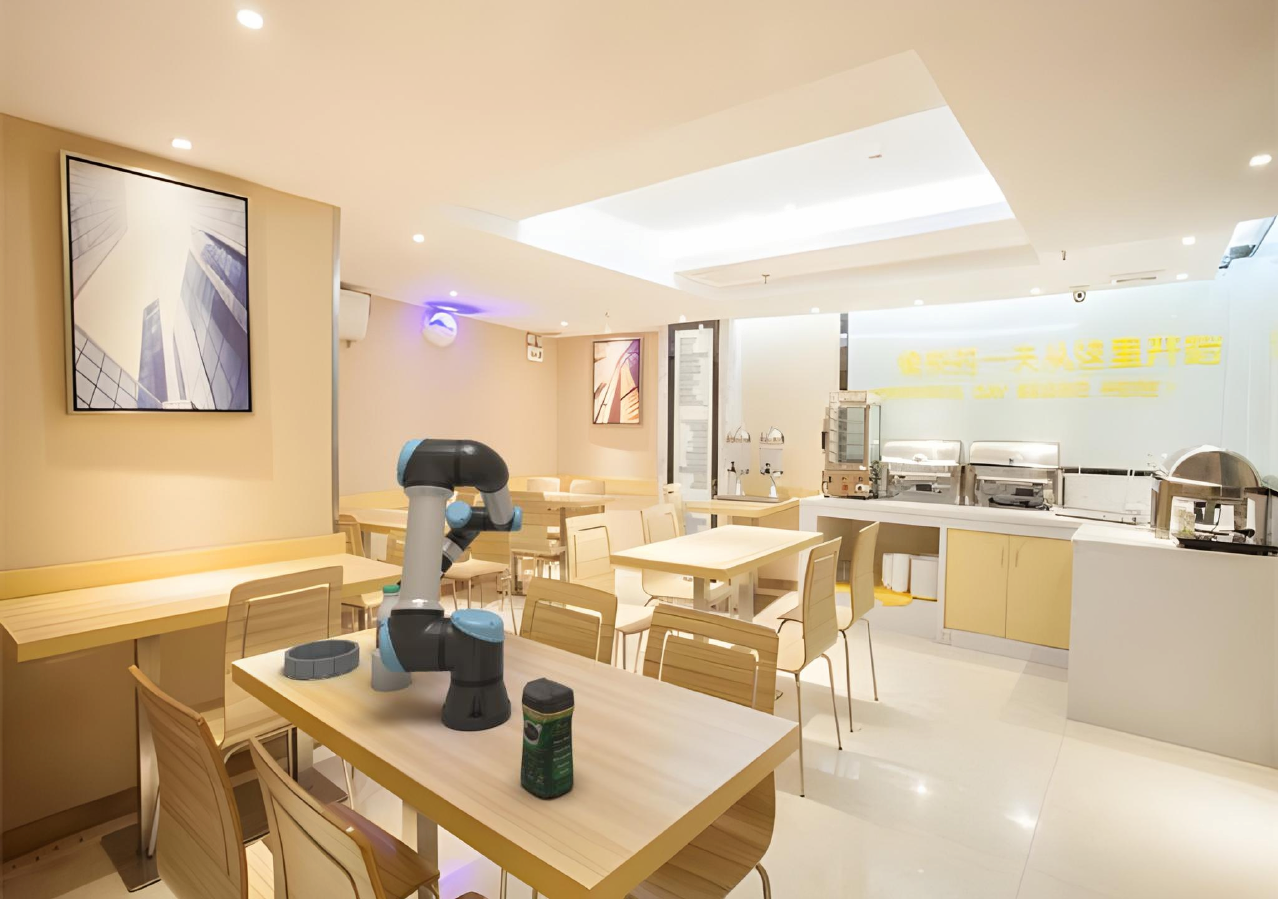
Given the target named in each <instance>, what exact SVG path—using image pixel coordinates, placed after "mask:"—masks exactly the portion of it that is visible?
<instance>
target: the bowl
mask: <svg viewBox="0 0 1278 899" xmlns="http://www.w3.org/2000/svg"><path fill="white" fill-rule="evenodd" d="M359 663H360V645H359V642H356V641H353V640H349V639H334V638H333V639H324V640H323V639H322V640H314V641H309V642H305V643H301V644H297V645H294V646H293V647H291V648H289V649H287V650H285V651H284V663H283V664H284V666H283V667H284V669H283V670H284V672H285V674H286V675H287V676H289V677H291V678H295V679H321V680H323V679H322V678H327V679H331V678H330V677H333V678H335V677H334V676H337V677H340V676H342V675H341V674H344V675H346V674H348V672H349V673H351V672H353V671H354V670H356V669H357V668H358V667H357V666H359V665H360V664H359ZM358 664H359V665H358ZM355 668H356V669H355ZM353 669H354V670H353ZM352 670H353V671H352ZM350 671H351V672H350ZM345 673H346V674H345ZM285 674H284V675H285ZM339 675H340V676H339ZM291 678H290V679H291ZM295 679H294V680H295Z"/></svg>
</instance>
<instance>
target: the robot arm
mask: <svg viewBox="0 0 1278 899" xmlns="http://www.w3.org/2000/svg"><path fill="white" fill-rule="evenodd" d="M396 464H397V467H396V471H397V474H396V480H397V484H398V485H399V486H401V487H402V488H403V494H404V495H405V496H406V497H407V498H408V499H409V500H408V509H407V510H408V511H407V518H406V530H405V540H404V550H403V551H404V552H403V557H402V559H403V560H402V568H401V579H400V580H398V582H397V583H396V585H399V587H400V591H399V592H400V593H399V602H398V603H397V604H396V605H395V606H394V607H393V608H392V609H391V614H390V617H387V618H385V619H383V620H382V622H381V625H380V626H381V628H380V629H379V652H380V657H381V661H382V663H383V665H384V667H385V668H386V669H387V670H389V671H392V672H404V673H409V672H412V673H428V672H429V673H430V672H431V673H432V672H433V673H435V672H436V673H438V672H439V673H440V672H441V673H443V672H449V673H450V674H449V675H450V682H449V688H448V690H447V694H446V697H445V702H444V703H443V705H442V708H441V722H442V723H443V724H444V725H445V726H446V727H448V728H450V729H454V730H459V731H478V730H486V729H491V728H493V727H495V726H496V727H497V726H498V725H501V724H503V723H505V722H506V721H507V720H508V719H510V716H511V714H512V703H511V700H510V698H509V695H508V691H507V687H506V683H505V681H504V667H505V666H504V663H505V661H504V655H505V654H504V652H505V651H504V650H505V647H504V646H505V640H506V636H505V629H504V628H505V627H504V620H503V618H502V617H501V616H500V615H499V614H497V613H495V612H492V611H489V610H484V609H478V608H465V609H464V608H463V609H457V610H454V611H453V612H452V613H451V615H450V617H445V608H444V607H443V606H442V605H441V603H440V587H441V581H442V579H443V578H444V577H445V575H446V574H445V573H447V572H448V571H449V569H450V568H451V567H452V566H453V563H455V562H456V561H457V560H458V559H460V558H461V555H462V554H463V553H464V552H465V551H466V549H467V548H469V547H470V545H471V544H472V543H473V541H474V540H476V538H477V537H478V536H480V534H481V532H495V533H496V532H499V533H500V532H501V533H511V532H520V531H521V530H522V527H523V508H522V506H521V507H520V506H515V505H513V501H512V497H511V493H510V490H509V485H508V483H509V480H510V479H509V478H510V473H509V468H508V465H507V463H506V461H505V460H504V459H503V457H502V456H501V455H500V454H499V453H498V452H497V451H495V449H493V448H491V447H490V446H488V445H487V444H484V443H483V442H480V441H477V440H473V439H450V438H449V439H448V438H446V439H444V438H442V439H441V438H428V437H427V438H420V439H414V438H413V439H411V440H408V441H407V442H406V443H405V444H404V445H403V446H402V449H401V451H400V454H399V456H398V460H397V463H396ZM463 487H465V488H475V490H476V491H477V492H479V493H480V497H481V500H482V502H483V504H484V506H481V505H478V506H477V505H475V506H474V505H473V506H470V505H469V504H468V503H467V502H465V501H461V500H456V501H453V502H451V503H450V504H447V502H448V500H450V499H452V498H453V496H454V495H455V488H463ZM446 524H447V525H448V527H449V531H448V532H447V534H445V530H446V529H445V527H446V526H445V525H446Z"/></svg>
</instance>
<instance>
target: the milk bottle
mask: <svg viewBox="0 0 1278 899" xmlns="http://www.w3.org/2000/svg"><path fill="white" fill-rule="evenodd" d="M399 591H400V587H399V585H397V584H388V585H383V586H382V595H383V596H382V601H381V604H380V605H379V607H378V609H377V614H376V626H375V629H376V630H375V650H376V649H379V629H380V628H381V626H380V625H381V622H382V620H383V619H385V618H387V617H390V614H391V609H392V608H393V607H394V606H395V605H396V604H397V603H398V602H399V593H400V592H399Z"/></svg>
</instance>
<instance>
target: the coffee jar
mask: <svg viewBox="0 0 1278 899" xmlns="http://www.w3.org/2000/svg"><path fill="white" fill-rule="evenodd" d="M574 694H575V693H574V689H573V688H571V687H569V686H566V685H564V684H561V683H559V682H557V681H554V680H550V679H547V678H546V677H541V678H537V679H533V680H531V681H527V682H526V684H525V685H524V687H523V689H522V695H521V696H522V697H521V710H522V716H523V717H522V720H523V728H522V729H523V731H522V732H523V735H522V749H521V750H522V751H521V752H522V753H521V763H520V764H521V765H520V782H521V785H522V786H524V787H525V788H526V789H527V790H528V791H529V792H531V793H533V794H535V795H536V796H539V797H542V798H550V797H557V796H558V797H559V796H560V795H562V794H564V793H566V792H567V791H569V790H570V789H571V788H572V787H573V785H574V756H573V731H572V730H573V728H572V726H573V725H572V724H573V715H574V711H575V706H576V705H575V695H574Z"/></svg>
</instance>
